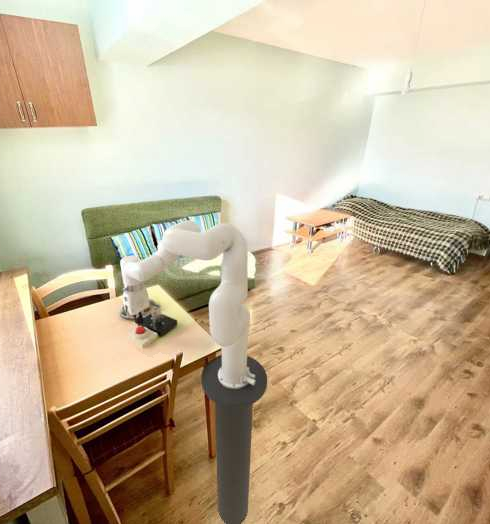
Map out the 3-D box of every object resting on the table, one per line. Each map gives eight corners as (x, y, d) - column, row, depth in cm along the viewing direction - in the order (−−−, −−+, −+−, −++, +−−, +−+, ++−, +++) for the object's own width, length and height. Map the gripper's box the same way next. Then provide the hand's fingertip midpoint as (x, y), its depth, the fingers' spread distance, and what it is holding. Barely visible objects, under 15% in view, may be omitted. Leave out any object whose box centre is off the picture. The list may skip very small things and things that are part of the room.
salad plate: (164, 300, 152) (163, 292, 149) (155, 321, 136) (154, 313, 134) (129, 299, 153) (128, 292, 150) (116, 319, 137) (115, 312, 135)
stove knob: (157, 317, 134) (156, 307, 132) (163, 320, 132) (162, 310, 130) (150, 321, 131) (149, 312, 129) (157, 324, 128) (156, 315, 126)
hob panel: (177, 324, 133) (177, 319, 132) (161, 336, 124) (160, 332, 123) (154, 315, 140) (154, 310, 139) (138, 326, 132) (137, 321, 131)
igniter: (158, 337, 124) (157, 330, 122) (142, 348, 117) (141, 341, 115) (140, 329, 129) (139, 322, 128) (125, 340, 122) (124, 332, 121)
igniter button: (146, 331, 122) (146, 327, 122) (140, 335, 120) (140, 332, 119) (141, 328, 124) (140, 325, 123) (134, 332, 121) (134, 329, 121)
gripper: (125, 296, 105) (131, 335, 112) (153, 280, 117) (158, 317, 124) (112, 291, 109) (119, 329, 116) (141, 276, 121) (146, 312, 128)
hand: (139, 323), depth 120 cm, fingers closed
